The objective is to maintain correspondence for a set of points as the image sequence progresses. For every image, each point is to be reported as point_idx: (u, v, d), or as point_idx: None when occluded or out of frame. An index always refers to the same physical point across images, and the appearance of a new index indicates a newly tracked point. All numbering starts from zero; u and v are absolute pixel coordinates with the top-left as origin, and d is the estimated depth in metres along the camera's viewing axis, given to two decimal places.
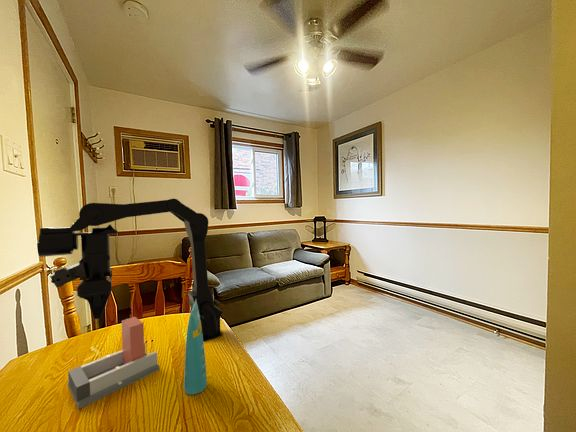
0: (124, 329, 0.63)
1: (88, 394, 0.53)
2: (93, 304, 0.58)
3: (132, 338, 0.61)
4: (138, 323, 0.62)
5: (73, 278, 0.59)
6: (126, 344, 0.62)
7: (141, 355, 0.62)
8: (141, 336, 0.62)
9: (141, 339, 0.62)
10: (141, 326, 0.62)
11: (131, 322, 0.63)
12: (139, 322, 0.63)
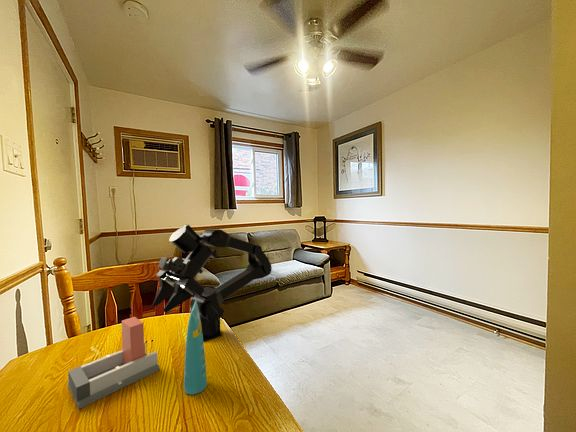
0: (124, 329, 0.63)
1: (88, 394, 0.53)
2: (175, 298, 0.67)
3: (132, 338, 0.61)
4: (138, 323, 0.62)
5: (176, 270, 0.69)
6: (126, 344, 0.62)
7: (141, 355, 0.62)
8: (141, 336, 0.62)
9: (141, 339, 0.62)
10: (141, 326, 0.62)
11: (131, 322, 0.63)
12: (139, 322, 0.63)
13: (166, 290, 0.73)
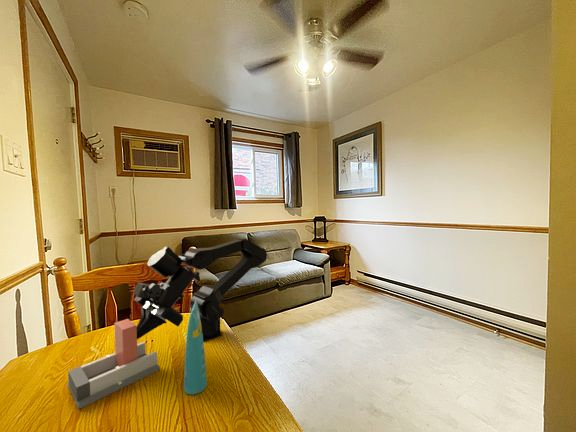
0: (117, 331, 0.61)
1: (88, 394, 0.53)
2: (146, 325, 0.64)
3: (125, 341, 0.59)
4: (131, 325, 0.61)
5: (153, 297, 0.65)
6: (118, 347, 0.61)
7: (134, 358, 0.61)
8: (134, 339, 0.61)
9: (134, 342, 0.61)
10: (134, 328, 0.61)
11: (123, 324, 0.62)
12: (132, 324, 0.61)
13: None
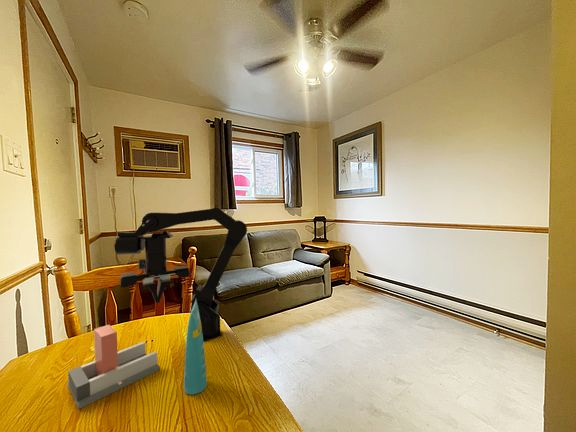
0: (96, 338, 0.58)
1: (88, 394, 0.53)
2: None
3: (104, 349, 0.56)
4: (111, 332, 0.58)
5: None
6: (98, 355, 0.58)
7: (114, 366, 0.58)
8: (114, 346, 0.58)
9: (114, 349, 0.58)
10: (114, 335, 0.58)
11: (103, 331, 0.58)
12: (112, 331, 0.58)
13: (158, 286, 0.77)
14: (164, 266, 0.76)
